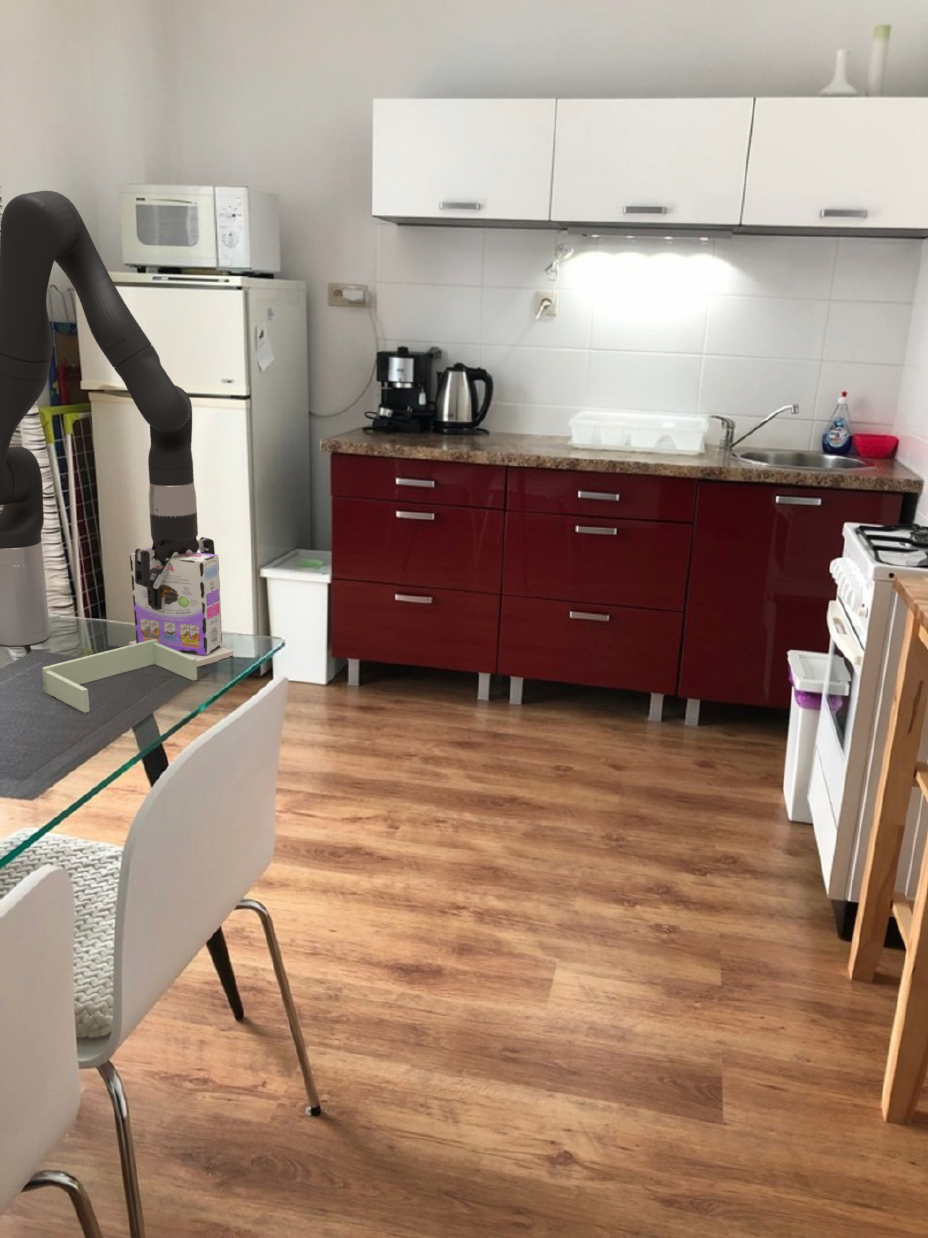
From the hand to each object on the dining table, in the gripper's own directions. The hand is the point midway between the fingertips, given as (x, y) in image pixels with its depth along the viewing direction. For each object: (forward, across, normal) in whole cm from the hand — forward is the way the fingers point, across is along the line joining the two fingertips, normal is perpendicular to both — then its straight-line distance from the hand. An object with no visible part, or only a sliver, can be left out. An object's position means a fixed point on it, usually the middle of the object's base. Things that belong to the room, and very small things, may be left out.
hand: (178, 603), depth 176 cm
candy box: (+8, 0, 0) cm, 8 cm away
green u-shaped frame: (+9, -16, -8) cm, 19 cm away
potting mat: (+9, 0, 0) cm, 9 cm away
